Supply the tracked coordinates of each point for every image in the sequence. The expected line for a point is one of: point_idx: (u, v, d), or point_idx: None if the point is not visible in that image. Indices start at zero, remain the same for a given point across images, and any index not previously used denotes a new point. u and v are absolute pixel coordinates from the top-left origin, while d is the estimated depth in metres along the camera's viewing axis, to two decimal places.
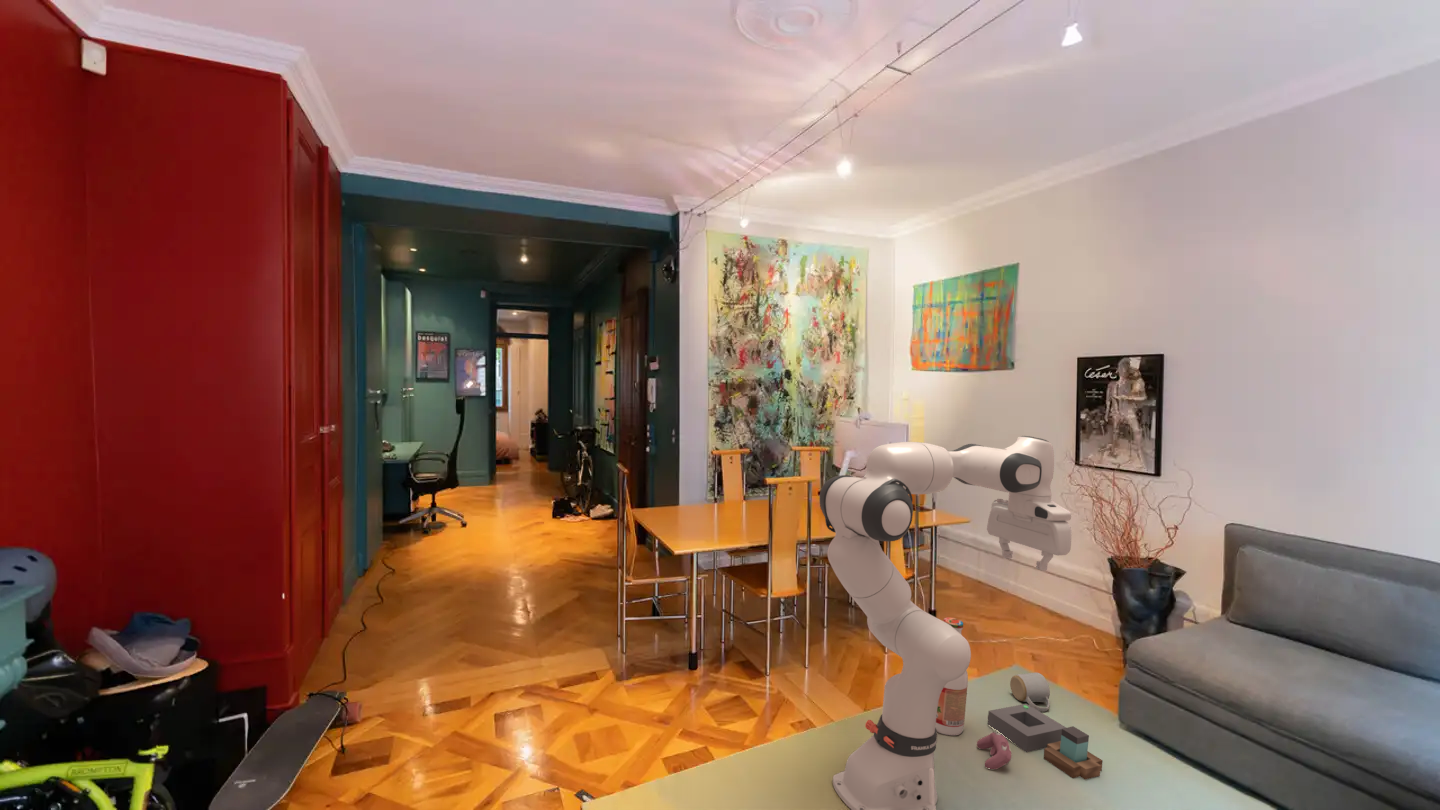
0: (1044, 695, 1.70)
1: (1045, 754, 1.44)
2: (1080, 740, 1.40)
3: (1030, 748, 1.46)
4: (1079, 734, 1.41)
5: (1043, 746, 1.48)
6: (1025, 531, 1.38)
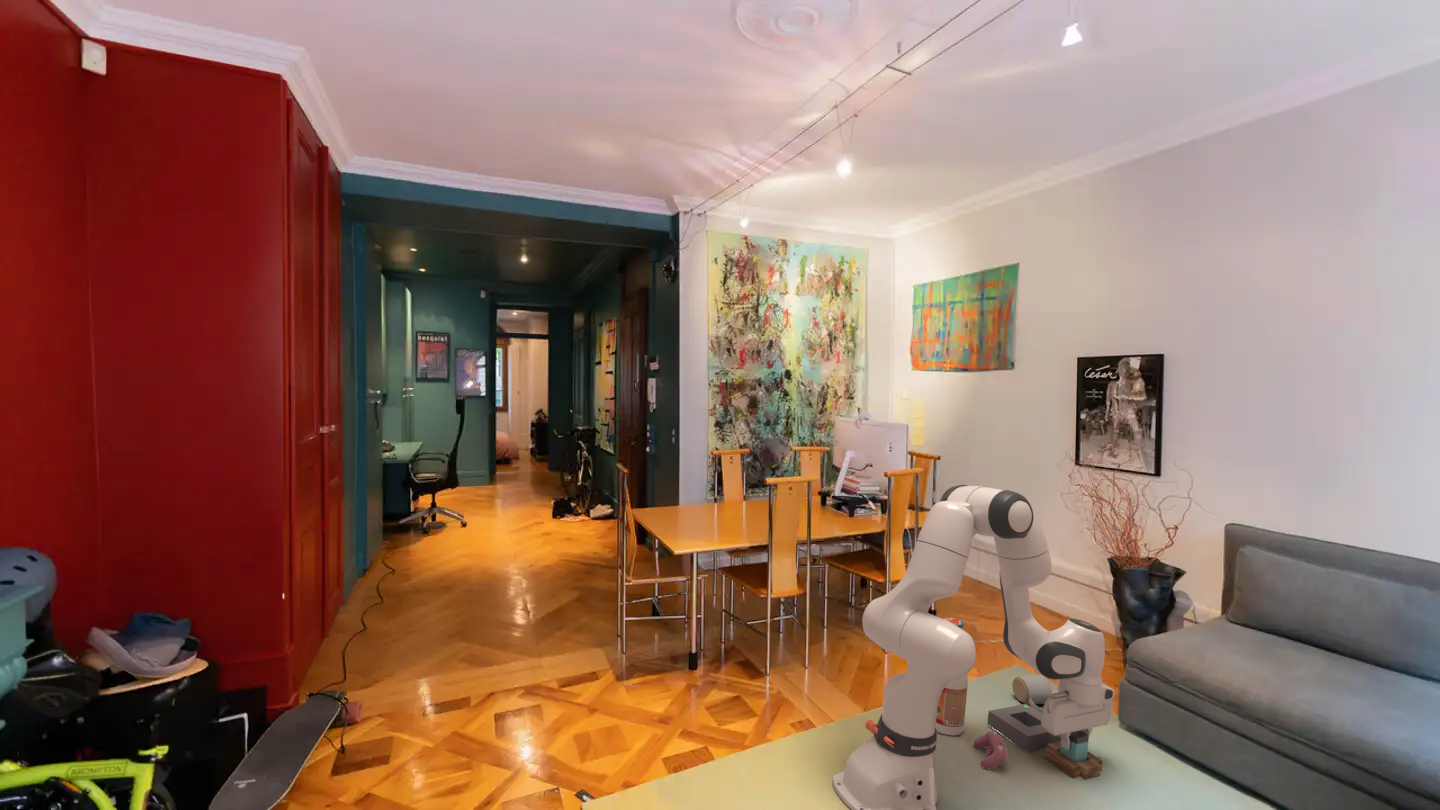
0: (1046, 697, 1.69)
1: (1045, 754, 1.44)
2: (1080, 740, 1.40)
3: (1030, 748, 1.46)
4: (1079, 734, 1.41)
5: (1043, 746, 1.48)
6: (1087, 715, 1.41)
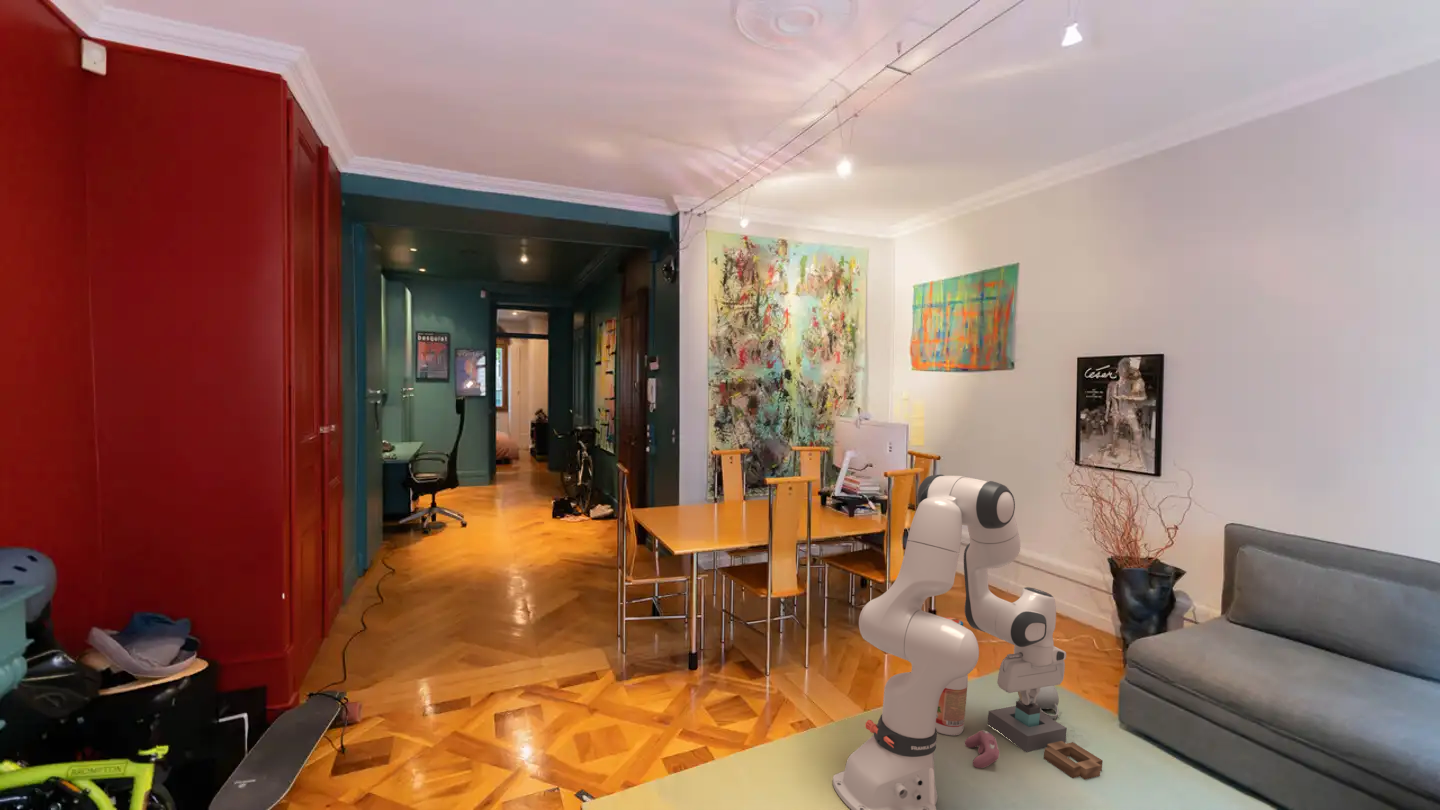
0: (1053, 702, 1.66)
1: (1045, 754, 1.44)
2: (1032, 711, 1.52)
3: (1030, 748, 1.46)
4: (1031, 706, 1.53)
5: (1043, 746, 1.48)
6: (1040, 675, 1.53)
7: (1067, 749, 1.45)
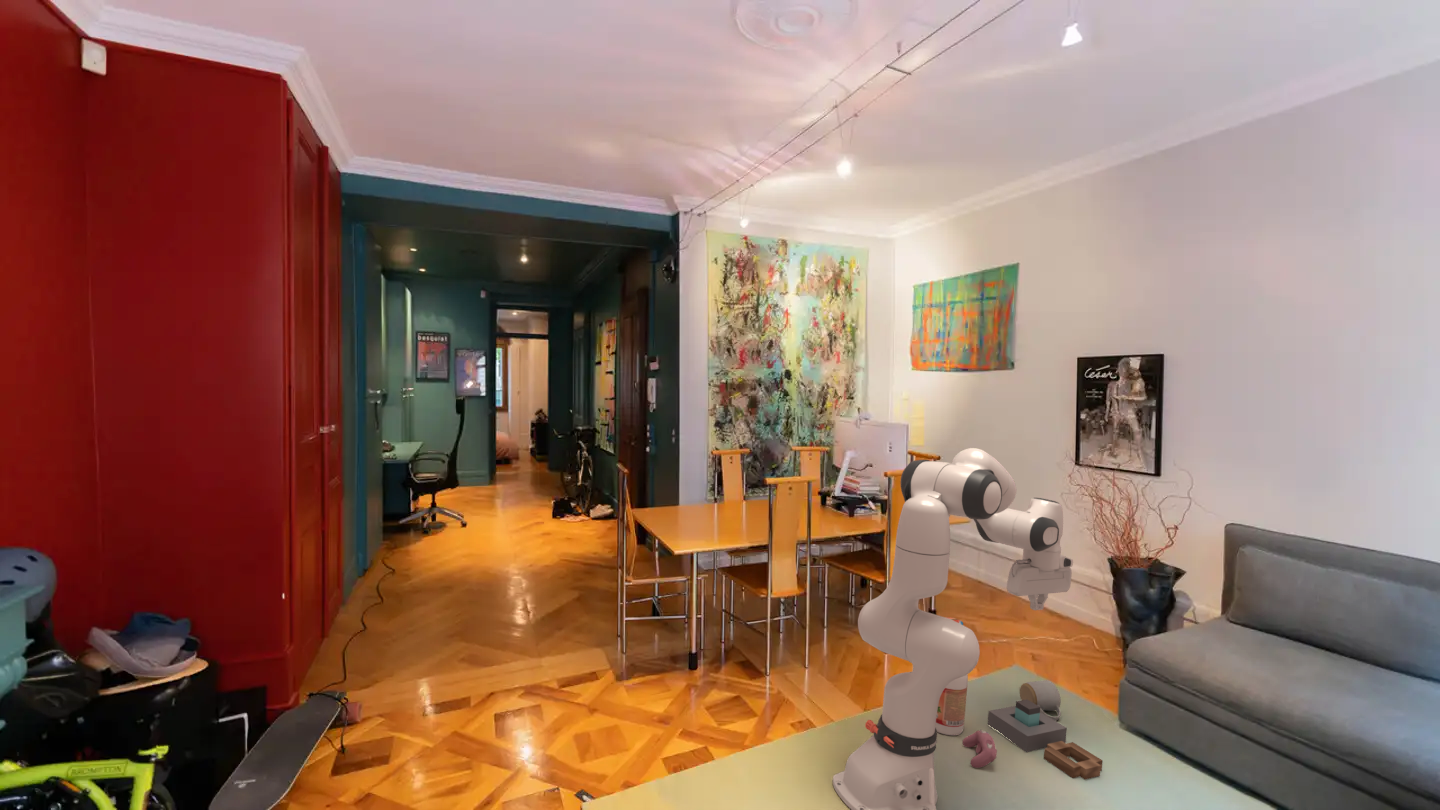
0: (1055, 704, 1.65)
1: (1045, 754, 1.44)
2: (1032, 711, 1.52)
3: (1030, 748, 1.46)
4: (1031, 705, 1.53)
5: (1043, 746, 1.48)
6: (1048, 581, 1.58)
7: (1067, 749, 1.45)
